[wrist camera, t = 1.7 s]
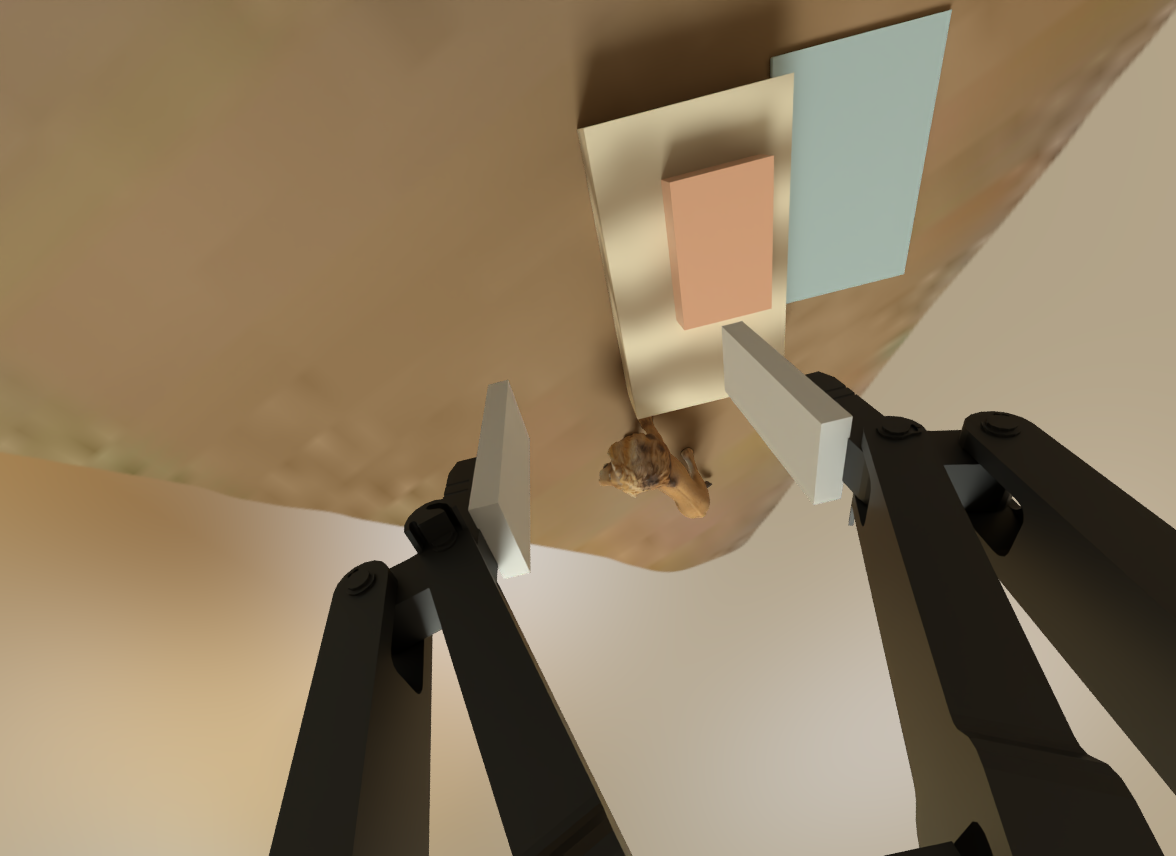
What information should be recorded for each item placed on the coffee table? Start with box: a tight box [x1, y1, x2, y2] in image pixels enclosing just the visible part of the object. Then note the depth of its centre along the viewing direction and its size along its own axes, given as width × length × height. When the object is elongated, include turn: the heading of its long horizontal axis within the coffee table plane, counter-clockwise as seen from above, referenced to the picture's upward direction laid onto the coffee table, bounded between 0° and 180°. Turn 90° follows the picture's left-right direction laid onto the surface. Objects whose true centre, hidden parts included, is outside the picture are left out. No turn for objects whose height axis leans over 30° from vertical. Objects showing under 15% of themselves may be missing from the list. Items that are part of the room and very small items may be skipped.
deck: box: [577, 73, 794, 419], centre depth 32 cm, size 20×12×4 cm, turn 12°
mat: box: [770, 10, 952, 304], centre depth 31 cm, size 16×11×1 cm
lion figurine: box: [599, 416, 712, 518], centre depth 39 cm, size 15×5×9 cm, turn 53°
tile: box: [661, 154, 774, 330], centre depth 28 cm, size 9×6×2 cm, turn 12°
